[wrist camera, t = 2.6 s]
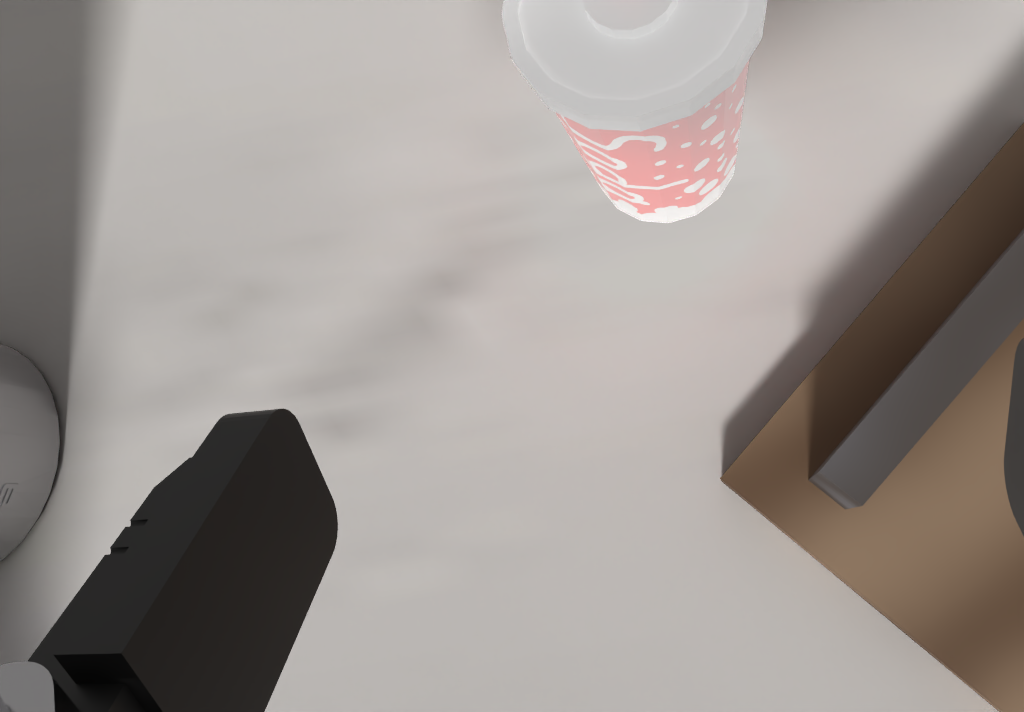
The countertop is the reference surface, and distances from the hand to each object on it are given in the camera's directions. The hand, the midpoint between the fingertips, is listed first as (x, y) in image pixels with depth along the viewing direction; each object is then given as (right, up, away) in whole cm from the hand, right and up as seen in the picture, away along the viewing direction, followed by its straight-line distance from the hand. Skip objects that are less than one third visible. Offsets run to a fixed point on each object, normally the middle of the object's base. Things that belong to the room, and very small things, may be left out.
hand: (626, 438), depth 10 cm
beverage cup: (+4, +7, +18) cm, 20 cm away
